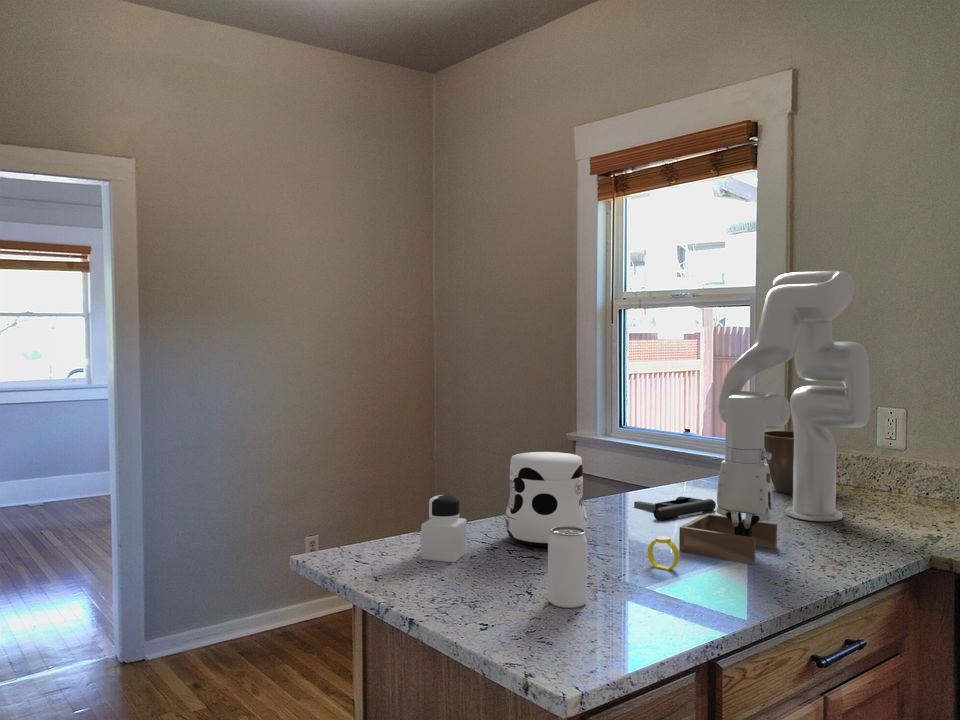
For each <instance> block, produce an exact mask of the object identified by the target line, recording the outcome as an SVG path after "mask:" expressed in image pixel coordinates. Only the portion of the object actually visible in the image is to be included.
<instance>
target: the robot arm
mask: <svg viewBox="0 0 960 720" xmlns="http://www.w3.org/2000/svg"><path fill="white" fill-rule="evenodd" d="M854 294H855V283H854V279H853V278H852V276H851V275H850V274H849V273H848V272H847V271H844V270H823V271H822V270H819V271H797V272H788V273H783V274H780V275H777V277H775V278H774V280H773V282H772V288H771V289H769V291H768V292H767V293H766V297H765V299H764V300H765V301H764V303H763V304H764V305H763V308H762V312H761V316H760V319H759V320H760V321H759V324H758V329H757V332H756V337H755V341H754V344H753V346H751V348H749V349H748V350H746V351H745V352H744V353H743V354H742V355H741V356H740V357H739V358H738V359H737V360H736V361H735V362H734V363H732V365H731V367H730V368H729V369H728V370H727V373H726V374H725V376H724V379H723V382H722V386H721V391H720V396H719V400H718V416H719V418H720V420H721V421H722V422H723V423H725V433H724V435H725V439H724V441H725V443H724V445H725V447H724V460H722V461H721V464H720V468H719V472H718V473H719V474H718V480H717V487H716V488H717V490H716V506H717V507H716V513H717V515H722V516H726V517H727V518H728V519H729V520H730V521H731V522H732V525H733V526H734V527H735V535H741V536H747V537H752V526H754V525H755V524H756V523H757V522H758V521H763V522H768V521H770V520H771V519H772V514H771V510H772V508H773V488H772V487H773V486H772V479H771V476H770V470H769V465H768V464H767V462H766V460H767V459H771V457H772V454H771V453H768V452H766V451H765V448H764V437H765V432H766V429H768V430H777V429H780V428H782V427H784V426H785V425H787V423H788V422H789V420H790V418H791V417H792V418H791V420H792V426H793V427H792V428H793V431H794V462H793V494H792V506H787V507H786V509H785V514H786V516H787V515H788V516H789V517H791V518H794V519H798V520H802V521H803V520H804V521H811V522H824V523H825V522H836V521H840V520H842V519H843V513H842V511H839V510H837V509H836V500H837V499H836V497H837V495H836V492H837V491H836V490H837V486H836V485H837V443H836V440H835V437H834V436H833V435H832V433H831V432H830V431H829V429H828V428H827V427H833V428H835V427H836V428H845V429H847V428H848V429H849V428H850V429H859V428H863V427H865V426H866V425H867V423H868V422H869V419H870V417H871V415H870V414H871V389H870V385H871V383H870V381H871V380H870V362H869V356H868V353H867V350H866V348H865V346H863V345H862V344H860V342H856V341H836V340H834V337H833V336H834V335H833V320H834V319H836V318H837V317H838V316H839V315H840V314H841V313H842V312H843V311H845V309H847V307H848V306H849V305H850V303H852V300H853V297H854ZM793 358H794V365H795V372H796V375H797V376H798V377H799V378H801V379H803V380H805V381H813V382H826V383H827V382H832V383H842V384H843V385H844V386H830V385H829V386H828V385H804V386H800V387H798V388H796V389H795V390H793V392H792V394H791V396H790V400H788V398H786V397H785V396H784V395H782V394H780V393H777V392H776V393H775V392H763V391H762V392H760V391H750V390H748V391H746V390H743V388H744V387H745V385H746V384H747V382H748V381H749V380H750V379H751V378H752V377H754V376H755V375H758V374H760V373H761V372H764V371H766V370H768V369H771V368H774V367H776V366H779V365H781V364H784V363H786V362H789V361H790V360H792V359H793ZM742 514H745V517H744V519H745V522H744V525H743V520H742V519H743V515H742Z"/></svg>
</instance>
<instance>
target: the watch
mask: <svg viewBox="0 0 960 720" xmlns="http://www.w3.org/2000/svg"><path fill="white" fill-rule="evenodd" d="M656 543H659V544H667V545H668V546H669V547H670V549H671V551H672V553H673V558H674V559H673V562H672V565H671V566H666V565H662V564H659V563H658V561H656V560H655V557H654V554H653V553H654V552H653V551H654V546H655V545H656ZM647 557H648V560H649V562H650V564H651V565H652V566H653V568H654V569H659V568H660V570H664V571H667V572H669V571H671V570H673V569H674V568H676V567H677V566H678V564H679V561H680V551H679V548H678V547H677V546H676V544H675V543H674V542H673V541H672V540H671V537H670V536H666V535H664V536H663V535H659V536H655V540H652V541H650V544H649V545H648V547H647Z"/></svg>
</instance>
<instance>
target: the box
mask: <svg viewBox="0 0 960 720" xmlns="http://www.w3.org/2000/svg"><path fill="white" fill-rule="evenodd" d="M742 520H743V525H744V522H745V518H742ZM678 537H679V540H678V541H679V542H678V543H679V544H678V551H679V552H680V551H681V553H685V552H687V554H691V553H692V555H696V554H698V555H697V556H702V555H703V557H708V556H709V557H708V558H713V557H715V558H714V559H719V558H720V560H725V561H732V562H735V561H736V563H742V564H748V565H755V564H756V546H757V545H758V547H763V546H764V547H765V548H771V549H777V548H778V523H777V522H776V523H775V522H768V521H758V522H757V523H756V524H755V525H754V526H752V537H747V536H741V535H735V527H734V526H733V525H732V522H731V521H730V520H729V519H728V518H727V517H726V516H723V515H721V514H715V513H714V514H713V513H708V512H705V514H701V515H700V516H699V517H697V518H695V519H693V520H690V521H688V522H687V523H685V524H683V525H681V526H679V536H678Z"/></svg>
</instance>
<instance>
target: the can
mask: <svg viewBox="0 0 960 720" xmlns="http://www.w3.org/2000/svg"><path fill="white" fill-rule="evenodd" d="M584 533H585V534H586V531H584V530H583V529H581V528H577V527H568V526H564V527H555V528H553V529H551V534H550V536H549V539H548V546H547V601H548V602H549V603H550V604H551V605H552V606H553V607H556V608H561V609H578V608H581V607H584V606H585V605H586V603H587V602H588V539H587V537H586V535H585V534H584Z"/></svg>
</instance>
